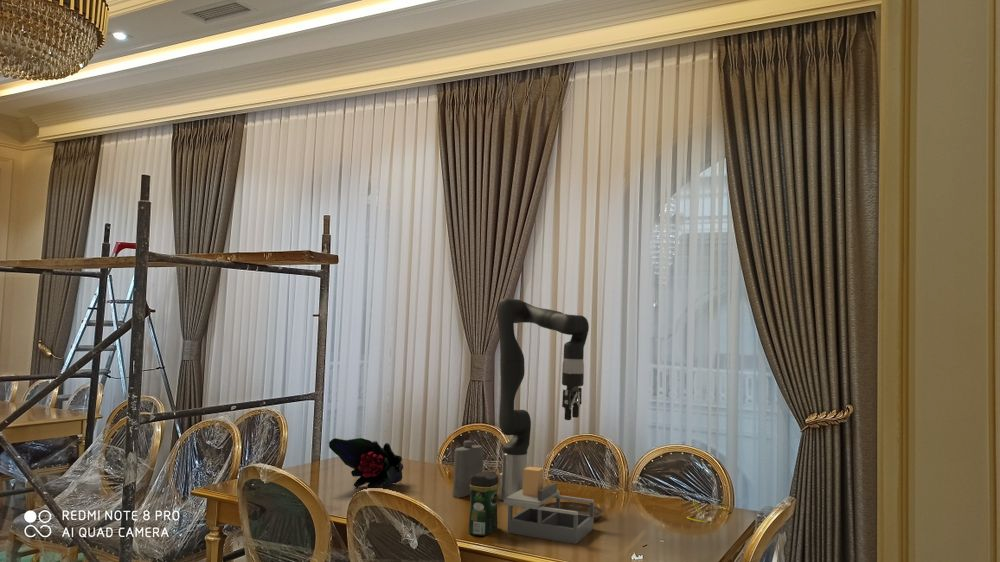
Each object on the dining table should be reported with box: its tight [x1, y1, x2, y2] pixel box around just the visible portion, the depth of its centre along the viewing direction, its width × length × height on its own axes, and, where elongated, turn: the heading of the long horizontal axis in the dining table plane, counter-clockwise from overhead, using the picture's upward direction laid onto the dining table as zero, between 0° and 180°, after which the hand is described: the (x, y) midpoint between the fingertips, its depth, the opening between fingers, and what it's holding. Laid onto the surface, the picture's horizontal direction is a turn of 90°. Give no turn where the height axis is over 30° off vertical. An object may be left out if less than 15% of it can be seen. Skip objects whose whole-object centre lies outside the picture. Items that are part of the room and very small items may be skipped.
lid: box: [503, 482, 560, 509], centre depth 220 cm, size 11×20×5 cm, turn 156°
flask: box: [452, 440, 484, 498], centre depth 266 cm, size 15×6×20 cm, turn 146°
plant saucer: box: [542, 501, 604, 522], centre depth 237 cm, size 21×21×3 cm
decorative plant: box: [328, 437, 404, 489], centre depth 269 cm, size 21×26×30 cm
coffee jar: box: [468, 470, 500, 537], centre depth 216 cm, size 10×8×19 cm
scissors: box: [686, 499, 726, 523], centre depth 247 cm, size 25×10×5 cm, turn 139°
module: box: [523, 466, 545, 497], centre depth 221 cm, size 5×5×8 cm
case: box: [507, 494, 595, 545], centre depth 217 cm, size 22×18×10 cm
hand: (571, 418), depth 242 cm, fingers open, 8 cm apart
